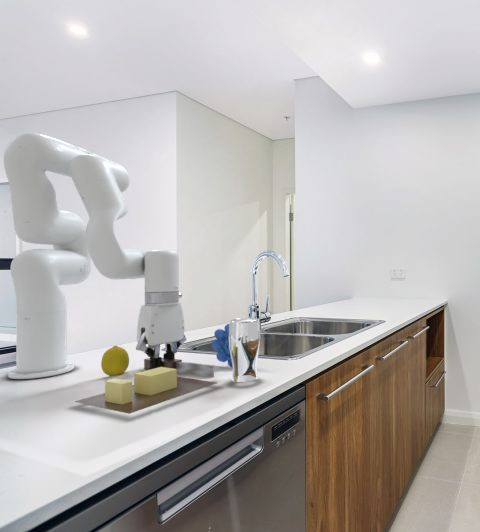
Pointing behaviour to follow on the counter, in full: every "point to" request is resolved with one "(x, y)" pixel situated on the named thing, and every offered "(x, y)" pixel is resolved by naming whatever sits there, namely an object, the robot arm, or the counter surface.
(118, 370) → the lemon
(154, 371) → the butter block
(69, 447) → the counter surface
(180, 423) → the counter surface
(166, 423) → the counter surface
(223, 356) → the grapes
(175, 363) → the knife
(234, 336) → the beer glass
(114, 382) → the butter slice
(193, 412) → the counter surface
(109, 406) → the board
